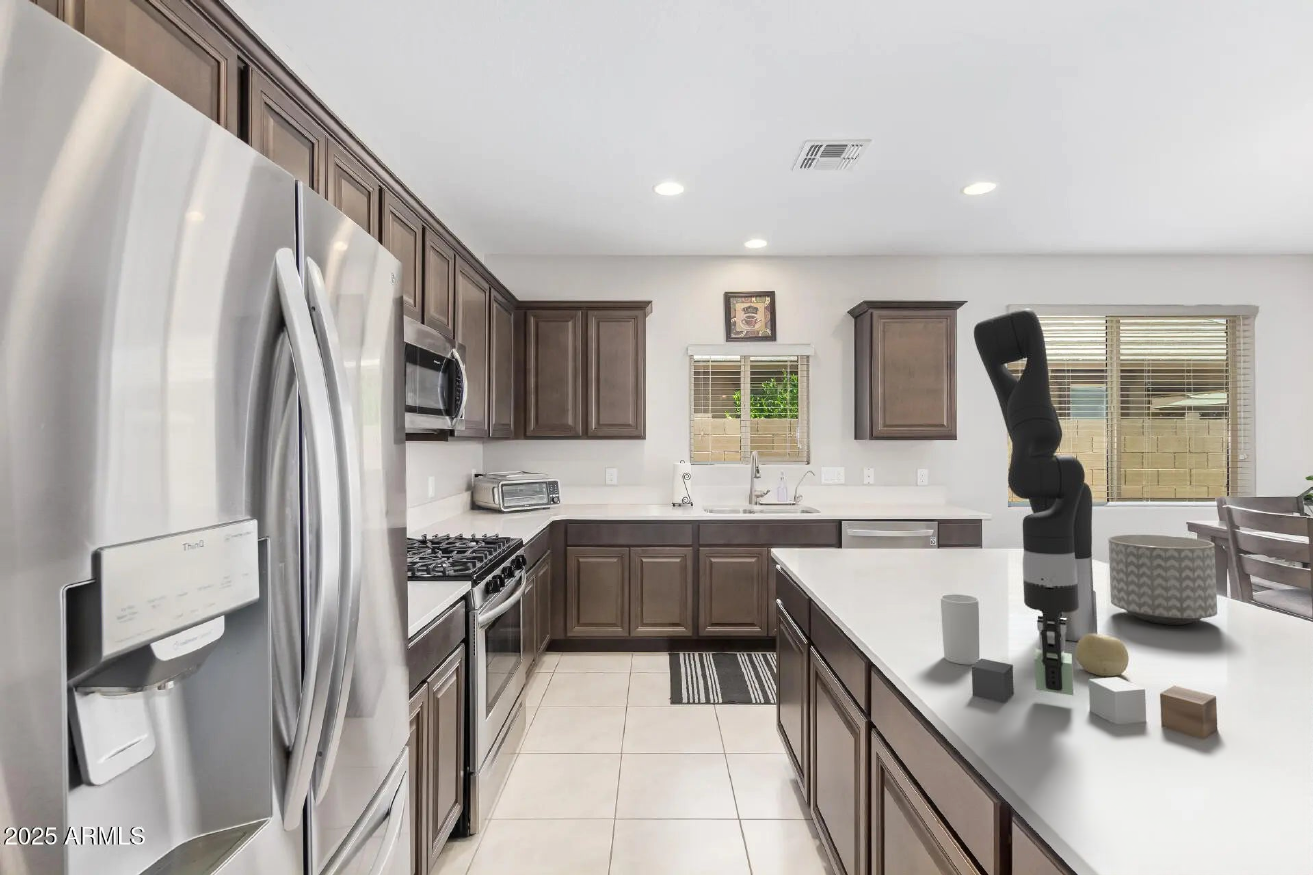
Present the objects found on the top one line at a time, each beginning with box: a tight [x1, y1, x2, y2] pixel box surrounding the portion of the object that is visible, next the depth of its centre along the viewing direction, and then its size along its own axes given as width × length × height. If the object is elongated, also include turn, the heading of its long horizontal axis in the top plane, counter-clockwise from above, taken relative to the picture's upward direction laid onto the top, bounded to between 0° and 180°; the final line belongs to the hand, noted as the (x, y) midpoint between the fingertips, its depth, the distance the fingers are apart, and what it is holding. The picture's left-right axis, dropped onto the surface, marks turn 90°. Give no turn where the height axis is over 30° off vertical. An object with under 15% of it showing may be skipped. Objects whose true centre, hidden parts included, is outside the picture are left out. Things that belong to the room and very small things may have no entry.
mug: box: [940, 593, 980, 666], centre depth 125 cm, size 10×7×12 cm, turn 137°
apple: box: [1075, 633, 1129, 677], centre depth 115 cm, size 8×8×8 cm
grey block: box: [1088, 676, 1147, 725], centre depth 98 cm, size 5×5×5 cm
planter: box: [1107, 534, 1218, 626], centre depth 145 cm, size 19×19×18 cm
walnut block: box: [1159, 685, 1218, 740], centre depth 93 cm, size 5×5×5 cm
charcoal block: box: [971, 658, 1015, 704], centre depth 107 cm, size 5×5×5 cm
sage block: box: [1034, 648, 1074, 696], centre depth 103 cm, size 5×5×5 cm
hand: (1054, 682), depth 103 cm, fingers closed on sage block, 5 cm apart
